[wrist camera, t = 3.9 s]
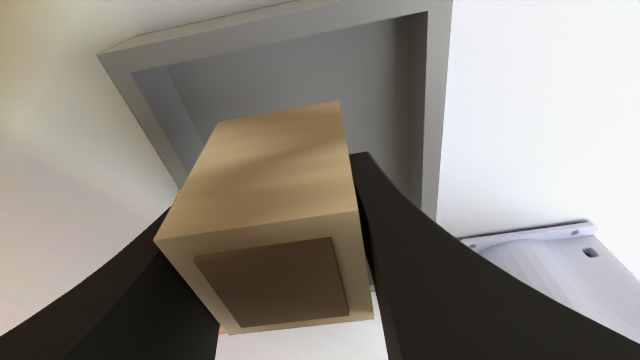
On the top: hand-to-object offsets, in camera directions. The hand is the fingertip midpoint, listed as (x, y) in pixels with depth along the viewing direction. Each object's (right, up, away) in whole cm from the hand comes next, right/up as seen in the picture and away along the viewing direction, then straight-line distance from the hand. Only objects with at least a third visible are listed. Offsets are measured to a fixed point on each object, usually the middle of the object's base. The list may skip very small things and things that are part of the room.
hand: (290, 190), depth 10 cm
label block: (0, +1, +1) cm, 2 cm away
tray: (+1, +1, +8) cm, 8 cm away
